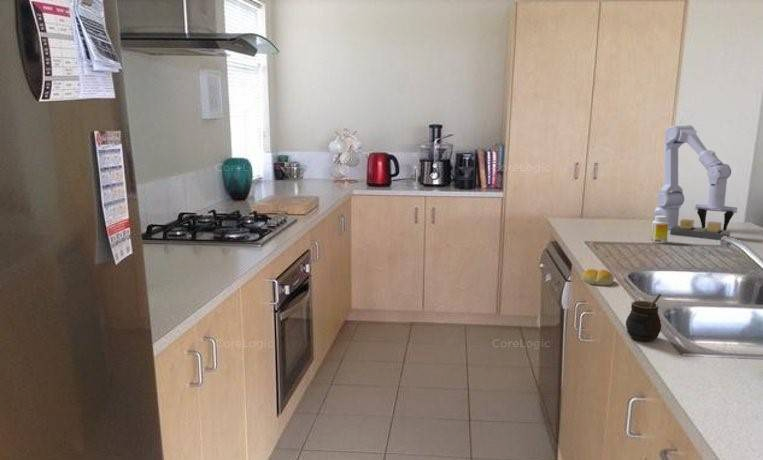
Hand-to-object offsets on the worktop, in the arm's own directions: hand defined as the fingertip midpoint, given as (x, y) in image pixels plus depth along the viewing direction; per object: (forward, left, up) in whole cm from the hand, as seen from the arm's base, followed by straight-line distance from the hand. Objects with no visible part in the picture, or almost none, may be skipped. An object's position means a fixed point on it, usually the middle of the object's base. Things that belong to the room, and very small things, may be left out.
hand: (713, 229), depth 237 cm
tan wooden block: (0, 0, -3) cm, 4 cm away
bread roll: (-11, -90, -4) cm, 91 cm away
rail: (-5, 0, -3) cm, 6 cm away
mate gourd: (+15, -128, -4) cm, 129 cm away
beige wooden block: (-10, 0, -3) cm, 11 cm away
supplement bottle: (-14, -22, -4) cm, 26 cm away
